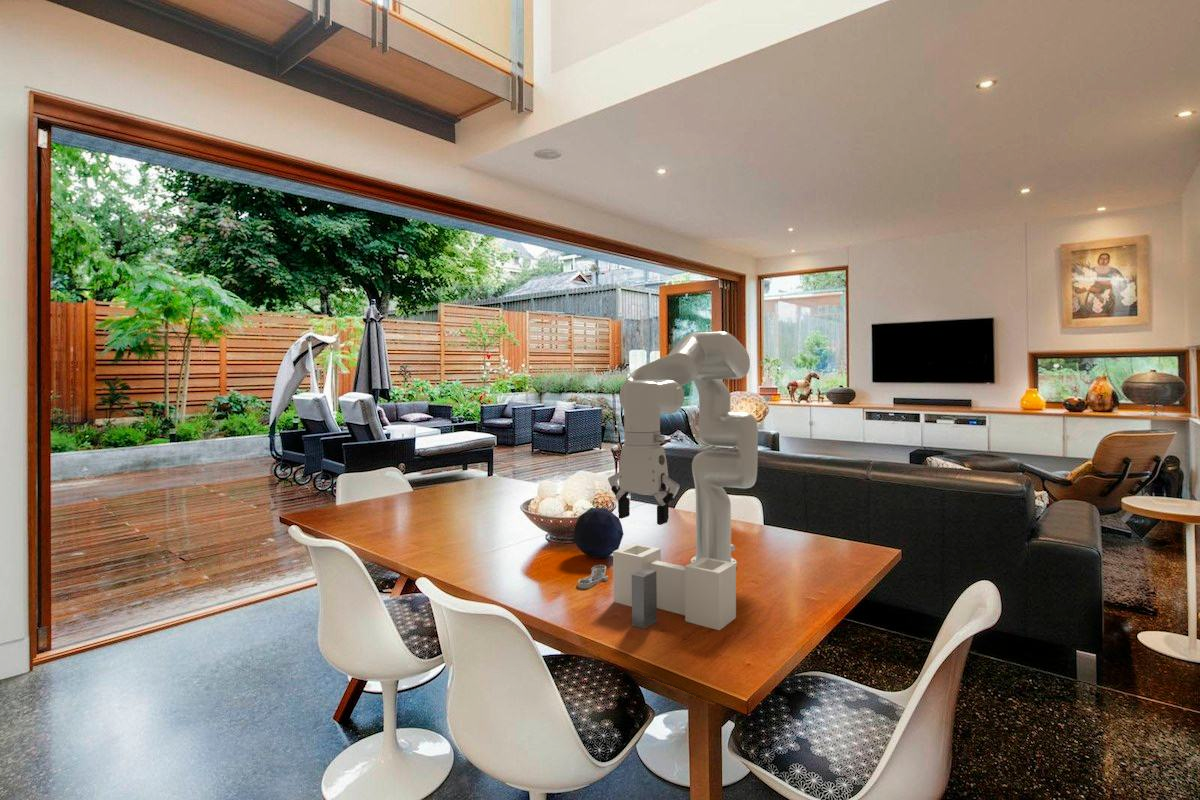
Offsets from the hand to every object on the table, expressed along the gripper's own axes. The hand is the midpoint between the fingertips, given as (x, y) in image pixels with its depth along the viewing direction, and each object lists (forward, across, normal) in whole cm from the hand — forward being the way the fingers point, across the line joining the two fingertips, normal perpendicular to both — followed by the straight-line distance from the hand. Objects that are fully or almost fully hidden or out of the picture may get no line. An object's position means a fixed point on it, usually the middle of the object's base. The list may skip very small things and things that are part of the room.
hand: (642, 520), depth 128 cm
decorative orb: (+22, +37, -32) cm, 54 cm away
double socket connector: (+22, -1, -10) cm, 24 cm away
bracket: (+23, +26, -16) cm, 38 cm away
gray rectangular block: (+22, 0, 0) cm, 22 cm away
